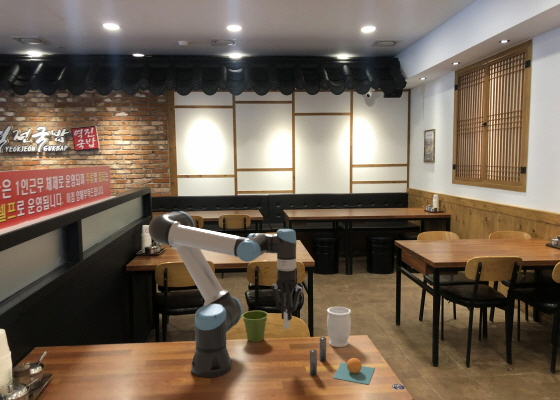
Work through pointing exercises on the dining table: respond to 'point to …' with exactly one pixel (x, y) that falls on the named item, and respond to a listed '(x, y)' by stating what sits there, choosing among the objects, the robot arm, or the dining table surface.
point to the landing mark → (360, 377)
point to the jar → (338, 326)
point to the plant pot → (255, 325)
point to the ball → (354, 365)
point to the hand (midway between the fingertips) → (286, 327)
